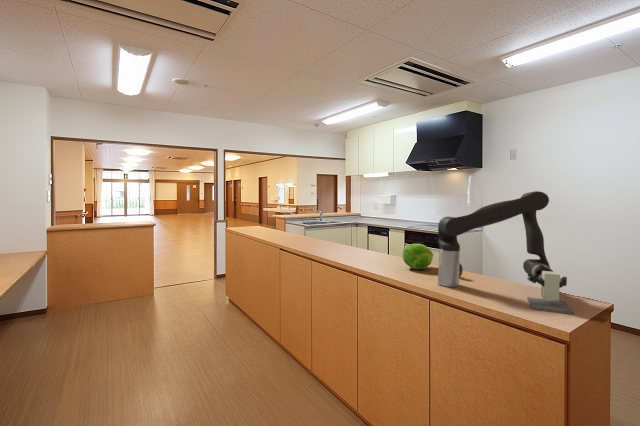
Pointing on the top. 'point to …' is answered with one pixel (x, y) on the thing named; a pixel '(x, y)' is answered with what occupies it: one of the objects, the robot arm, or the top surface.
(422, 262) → the lettuce
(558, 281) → the sage block
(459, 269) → the tin
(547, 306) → the charcoal mat
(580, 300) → the top surface
